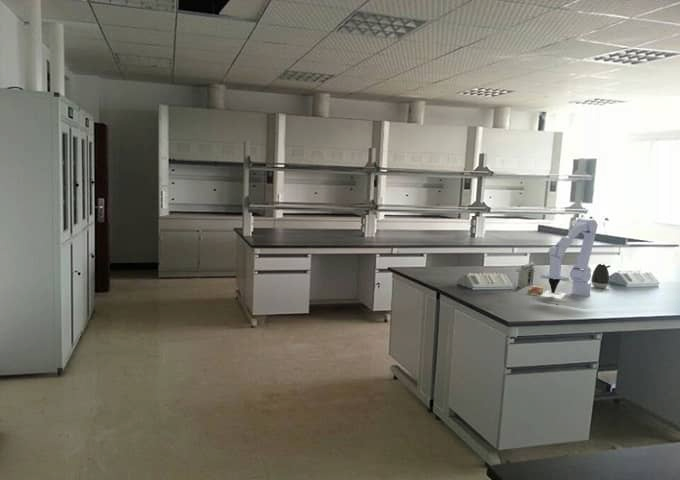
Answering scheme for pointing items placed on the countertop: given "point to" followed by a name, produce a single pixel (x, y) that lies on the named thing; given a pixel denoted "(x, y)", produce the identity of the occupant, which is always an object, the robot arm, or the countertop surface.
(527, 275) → the geiger counter
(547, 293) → the trap board
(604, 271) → the potted cactus
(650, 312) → the countertop surface
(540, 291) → the block
